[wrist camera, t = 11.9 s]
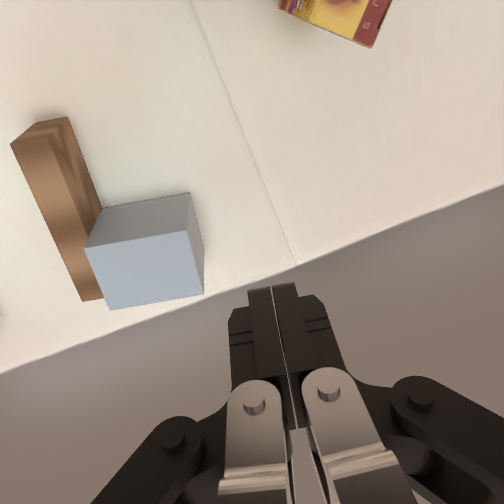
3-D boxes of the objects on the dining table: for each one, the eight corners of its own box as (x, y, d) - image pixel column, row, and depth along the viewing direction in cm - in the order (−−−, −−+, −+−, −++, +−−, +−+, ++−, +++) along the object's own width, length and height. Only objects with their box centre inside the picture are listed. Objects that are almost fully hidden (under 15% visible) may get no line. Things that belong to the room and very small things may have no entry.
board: (35, 122, 40) (9, 144, 35) (67, 117, 40) (47, 137, 35) (95, 267, 48) (82, 301, 43) (122, 262, 48) (112, 296, 43)
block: (102, 207, 45) (83, 248, 38) (189, 192, 45) (186, 230, 38) (123, 264, 49) (109, 310, 42) (204, 249, 48) (203, 294, 42)
